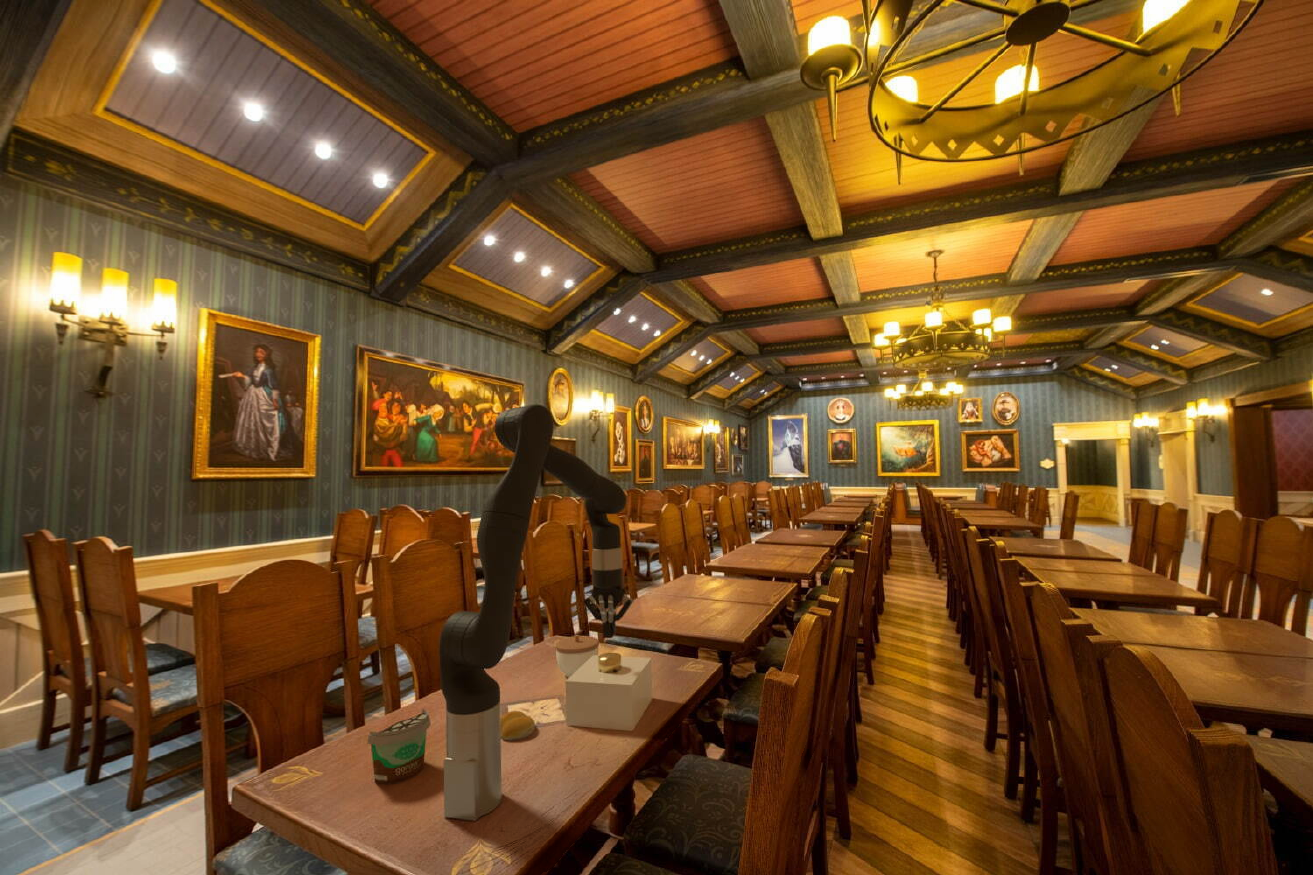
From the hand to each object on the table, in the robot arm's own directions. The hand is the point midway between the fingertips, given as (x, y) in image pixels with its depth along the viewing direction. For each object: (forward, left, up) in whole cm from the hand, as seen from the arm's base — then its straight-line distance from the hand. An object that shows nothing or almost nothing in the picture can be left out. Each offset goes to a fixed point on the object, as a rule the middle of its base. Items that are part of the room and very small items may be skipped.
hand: (609, 637), depth 133 cm
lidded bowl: (+22, +18, -18) cm, 34 cm away
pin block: (0, 0, -18) cm, 18 cm away
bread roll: (-14, +19, -18) cm, 29 cm away
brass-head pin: (0, 0, -17) cm, 17 cm away
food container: (-34, +31, -18) cm, 49 cm away
